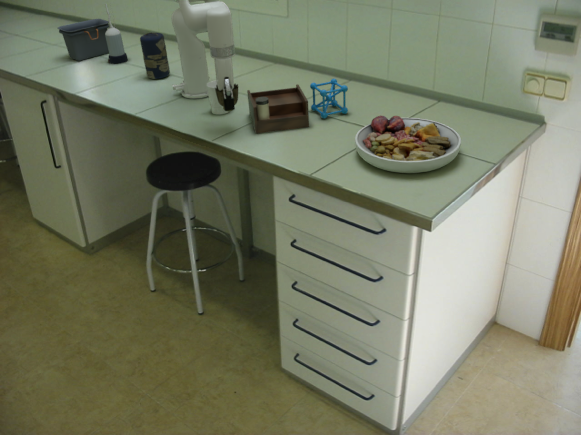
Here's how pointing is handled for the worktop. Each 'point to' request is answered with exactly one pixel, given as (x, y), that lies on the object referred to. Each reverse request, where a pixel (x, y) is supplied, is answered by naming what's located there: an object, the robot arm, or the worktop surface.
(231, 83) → the robot arm
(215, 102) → the white cup
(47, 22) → the worktop surface
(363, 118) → the worktop surface
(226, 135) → the worktop surface
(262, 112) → the spice jar
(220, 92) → the brown hollow bell-shaped piece
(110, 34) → the humidifier
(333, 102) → the molecular structure
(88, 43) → the storage bin
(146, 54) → the canister
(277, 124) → the spice rack
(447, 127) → the bowl
